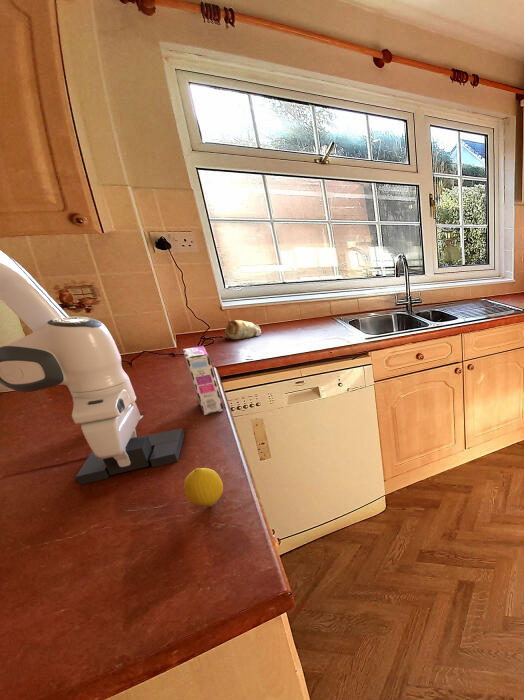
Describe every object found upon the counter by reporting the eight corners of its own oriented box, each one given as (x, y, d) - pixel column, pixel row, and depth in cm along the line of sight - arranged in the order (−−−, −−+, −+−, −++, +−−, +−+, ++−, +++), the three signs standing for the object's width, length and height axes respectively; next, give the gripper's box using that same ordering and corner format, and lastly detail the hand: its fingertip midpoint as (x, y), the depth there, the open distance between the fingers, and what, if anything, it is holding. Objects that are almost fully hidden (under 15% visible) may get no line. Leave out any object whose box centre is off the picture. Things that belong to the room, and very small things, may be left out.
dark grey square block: (109, 475, 87) (101, 456, 85) (117, 461, 92) (109, 443, 90) (149, 466, 90) (141, 447, 88) (154, 452, 95) (147, 435, 93)
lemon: (186, 508, 77) (172, 471, 74) (219, 492, 81) (207, 457, 78) (200, 519, 74) (186, 481, 71) (233, 502, 78) (221, 465, 75)
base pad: (79, 485, 84) (75, 476, 84) (98, 453, 96) (95, 446, 95) (177, 461, 92) (174, 453, 91) (184, 435, 103) (182, 428, 102)
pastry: (218, 340, 183) (213, 322, 180) (237, 332, 194) (232, 315, 191) (250, 340, 182) (245, 322, 179) (267, 332, 194) (262, 315, 191)
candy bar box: (226, 410, 116) (208, 354, 110) (204, 416, 113) (185, 358, 107) (220, 398, 124) (203, 344, 117) (199, 403, 121) (181, 348, 115)
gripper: (98, 384, 92) (121, 439, 97) (68, 420, 75) (97, 484, 81) (135, 378, 95) (156, 432, 100) (114, 411, 78) (139, 474, 84)
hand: (130, 456), depth 90 cm, fingers closed on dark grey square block, 6 cm apart
